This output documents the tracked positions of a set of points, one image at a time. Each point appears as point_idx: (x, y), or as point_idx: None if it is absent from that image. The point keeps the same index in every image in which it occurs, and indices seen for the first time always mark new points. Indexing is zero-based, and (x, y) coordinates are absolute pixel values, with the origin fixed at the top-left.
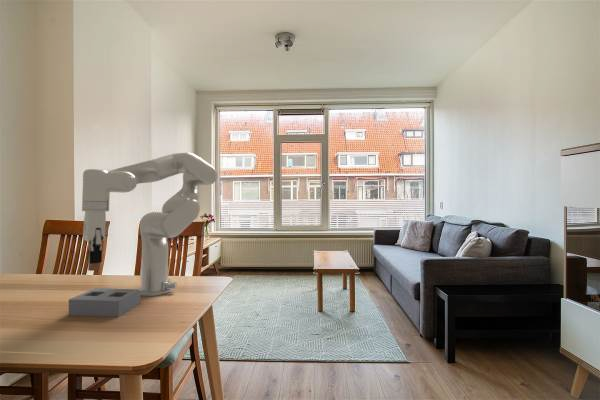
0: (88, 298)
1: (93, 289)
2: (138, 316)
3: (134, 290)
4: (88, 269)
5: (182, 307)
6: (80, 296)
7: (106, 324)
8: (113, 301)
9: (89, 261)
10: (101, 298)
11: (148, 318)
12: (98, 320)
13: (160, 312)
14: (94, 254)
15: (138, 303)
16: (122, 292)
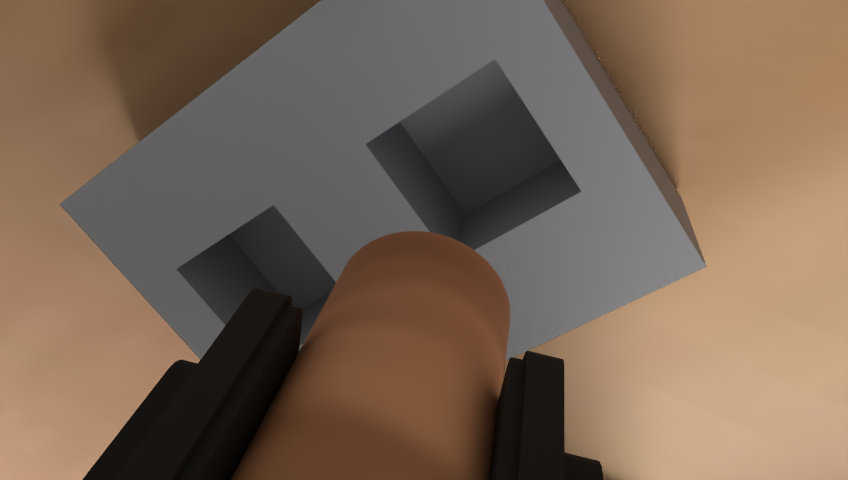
0: (338, 55)
1: (665, 228)
2: (81, 244)
3: None
4: (417, 238)
5: (75, 472)
6: (488, 25)
7: (55, 32)
8: (97, 176)
9: (352, 328)
10: (245, 141)
11: (4, 263)
12: (181, 26)
13: (69, 359)
14: (108, 474)
15: None
16: None
